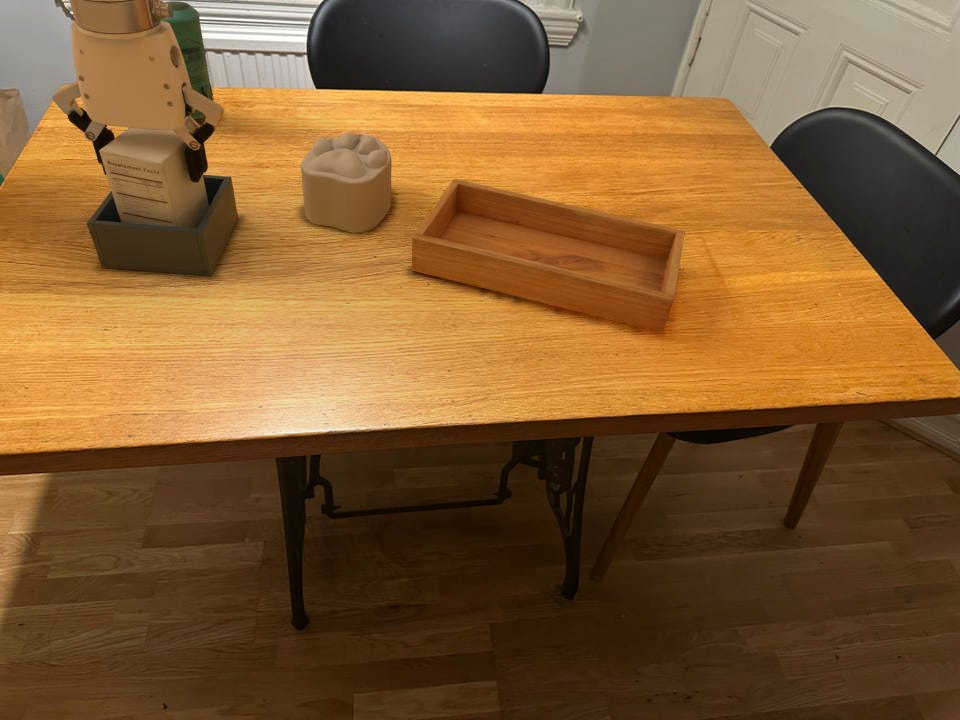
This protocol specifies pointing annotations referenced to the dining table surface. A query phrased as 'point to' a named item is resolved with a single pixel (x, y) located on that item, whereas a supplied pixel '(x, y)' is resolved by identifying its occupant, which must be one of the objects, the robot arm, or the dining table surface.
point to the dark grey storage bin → (167, 236)
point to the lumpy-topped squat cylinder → (347, 182)
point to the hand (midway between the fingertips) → (156, 172)
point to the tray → (551, 253)
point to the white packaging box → (153, 179)
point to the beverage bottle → (191, 48)
